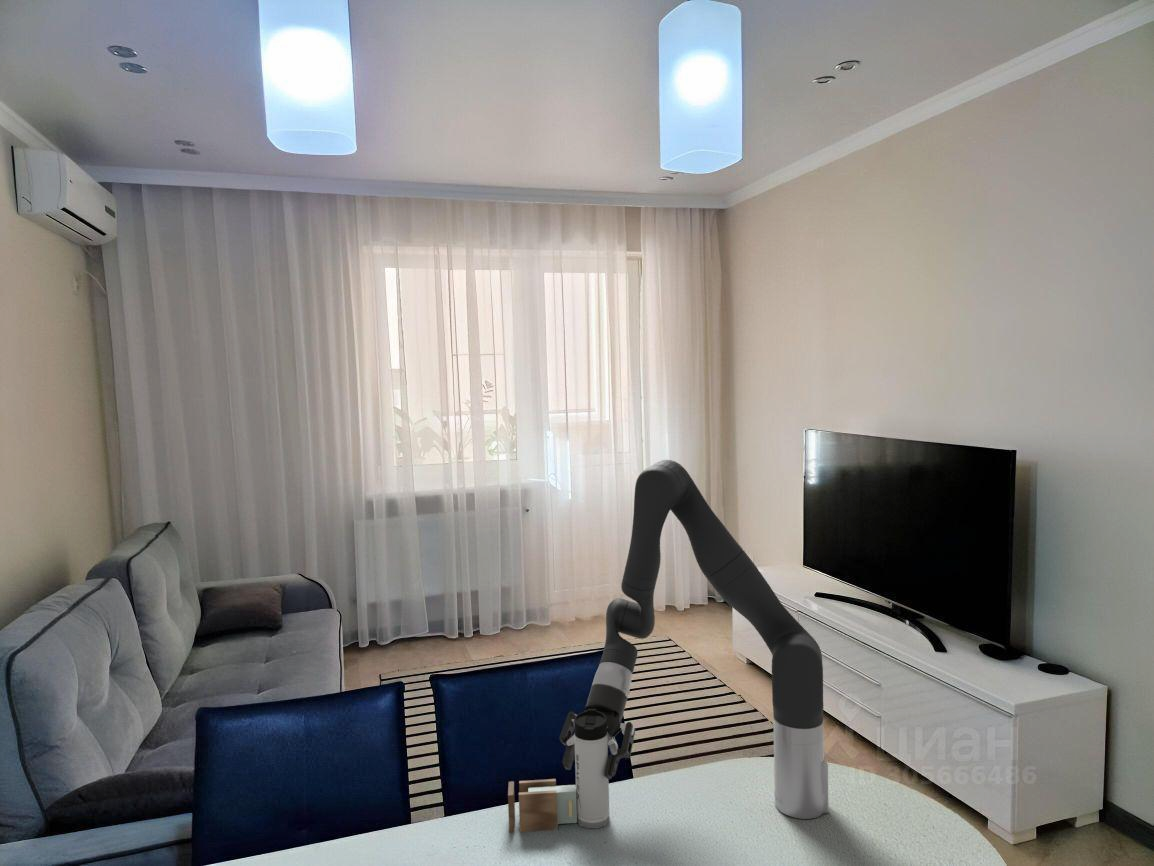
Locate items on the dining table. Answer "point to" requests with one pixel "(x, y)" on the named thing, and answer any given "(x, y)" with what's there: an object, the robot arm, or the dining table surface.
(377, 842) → the dining table surface
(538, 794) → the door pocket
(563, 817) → the pale green box
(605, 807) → the travel mug
